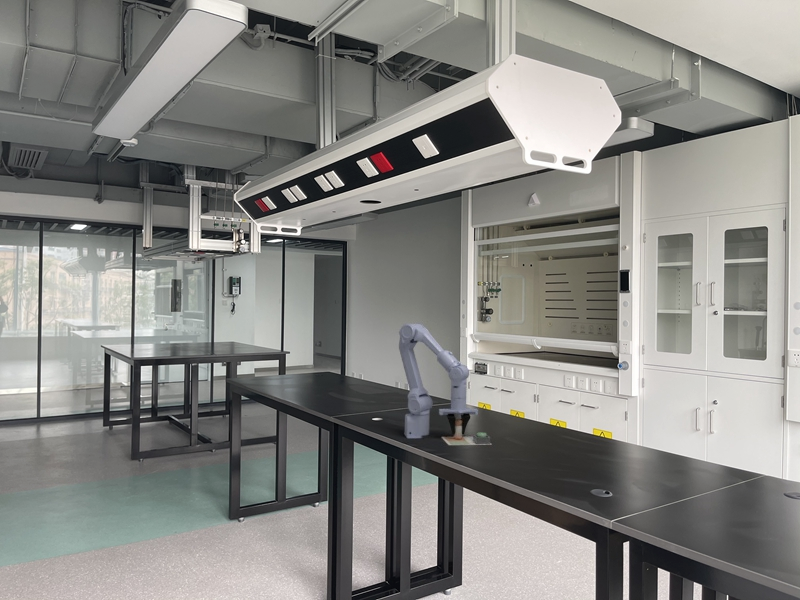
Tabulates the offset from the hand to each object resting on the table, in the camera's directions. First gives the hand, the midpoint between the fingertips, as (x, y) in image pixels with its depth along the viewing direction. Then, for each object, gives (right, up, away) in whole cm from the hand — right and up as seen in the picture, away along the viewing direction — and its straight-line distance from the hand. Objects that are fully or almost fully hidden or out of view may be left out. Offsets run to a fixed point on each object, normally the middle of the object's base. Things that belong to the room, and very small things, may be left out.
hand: (457, 434), depth 215 cm
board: (+3, -3, -2) cm, 5 cm away
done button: (+8, 0, -5) cm, 9 cm away
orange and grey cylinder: (0, -2, 0) cm, 2 cm away
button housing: (+8, -2, -5) cm, 10 cm away
